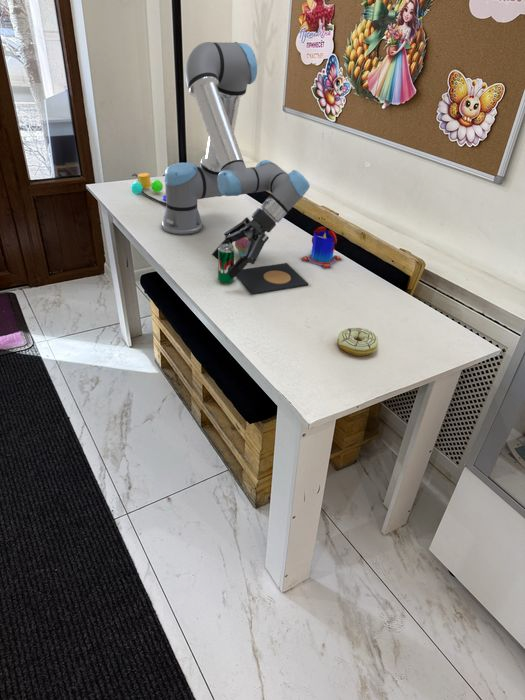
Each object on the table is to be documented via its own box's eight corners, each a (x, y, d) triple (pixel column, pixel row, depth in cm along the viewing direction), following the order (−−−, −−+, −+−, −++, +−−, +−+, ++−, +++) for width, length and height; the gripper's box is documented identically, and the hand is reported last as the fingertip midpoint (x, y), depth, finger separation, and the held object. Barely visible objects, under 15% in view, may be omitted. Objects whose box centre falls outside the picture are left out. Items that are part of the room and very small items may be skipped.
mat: (233, 272, 169) (233, 269, 168) (286, 264, 176) (286, 262, 176) (251, 294, 157) (252, 292, 157) (308, 285, 165) (308, 283, 164)
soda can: (235, 279, 165) (237, 244, 158) (230, 285, 161) (231, 251, 154) (221, 275, 166) (222, 241, 159) (215, 282, 162) (215, 247, 155)
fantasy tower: (343, 258, 183) (348, 227, 176) (328, 269, 175) (333, 237, 168) (314, 249, 188) (319, 218, 181) (299, 260, 180) (302, 227, 173)
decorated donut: (340, 332, 143) (343, 321, 141) (378, 341, 141) (381, 329, 138) (333, 352, 135) (335, 340, 133) (373, 361, 132) (376, 350, 130)
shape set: (133, 188, 235) (130, 172, 230) (208, 182, 239) (207, 166, 235) (131, 211, 211) (128, 193, 207) (215, 204, 216) (213, 187, 212)
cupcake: (255, 263, 175) (257, 230, 168) (231, 259, 177) (232, 226, 170) (260, 253, 182) (262, 221, 175) (237, 249, 183) (238, 217, 176)
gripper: (245, 194, 163) (201, 243, 166) (278, 222, 145) (228, 277, 148) (259, 209, 168) (216, 256, 171) (293, 238, 150) (244, 290, 153)
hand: (222, 266), depth 160 cm, fingers open, 13 cm apart
